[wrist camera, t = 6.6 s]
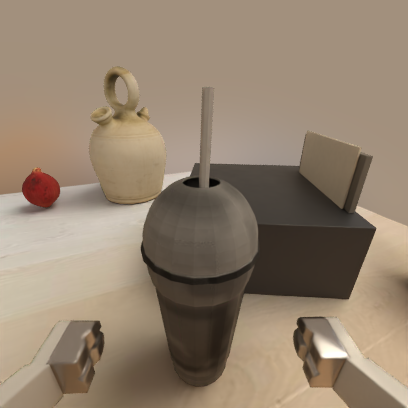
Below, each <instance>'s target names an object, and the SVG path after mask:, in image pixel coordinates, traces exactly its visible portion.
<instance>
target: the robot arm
mask: <svg viewBox="0 0 408 408" xmlns="http://www.w3.org/2000/svg"><path fill="white" fill-rule="evenodd" d="M297 326H298V328H297V329H296V330H295V331H294V335H293V340H294V346H295V350H296V353H297V355H298V357H299V358H300V359H302V360H303V361H304V364H303V370H304V373H305V375H306V378H307V380H308V383H309V385H310V387H325V388H333V390H334V391H335V392H336V393H337V394H338V396H339V397H340V398H341V399H342V400H343V401H344V402H345V403H346V404H347V405H348V407H349V408H408V388H407V387H406V386H405V385H404V384H402V383H401V382H400V381H398V380H397V379H396V378H394V377H393V376H392V375H390V374H389V373H388V372H386V371H385V370H384V369H383V368H381V367H380V366H379V365H377V364H376V363H375V362H373V361H372V360H371V359H369V358H364V356H363V355H362V353H361V352H360V350H359V348H358V347H357V345H356V344H355V342H354V341H353V339H352V338H351V336H350V335H349V333H348V332H347V330H346V329H345V327H344V326H343V324H342V323H341V321H340V320H339V319H338V318H337V317H300V318H298V320H297ZM100 328H101V324H100V321H74V320H68V321H59V322H58V323H56V324H55V326H54V327H53V329H52V330H51V332H50V333H49V335H48V337H47V338H46V340H45V341H44V343H43V344H42V346H41V348H40V349H39V351H38V352H37V354H36V355H35V357H34V358H33V360H32V362H31V363H30V365H24V366H23V367H22V368H21V369H19V370H18V371H17V372H16V373H14V374H13V375H12V376H10V377H9V378H8V379H7V380H5V381H4V382H3V383H1V384H0V408H53V407H54V406H55V405H56V404H57V403H58V402H59V400H60V399H61V398H62V397H63V394H76V393H88V390H89V387H90V385H91V382H92V380H93V377H94V374H95V370H94V365H95V364H96V363H97V362H98V361H99V360H100V358H101V355H102V353H103V348H104V335H103V333H102V332H100Z"/></svg>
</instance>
